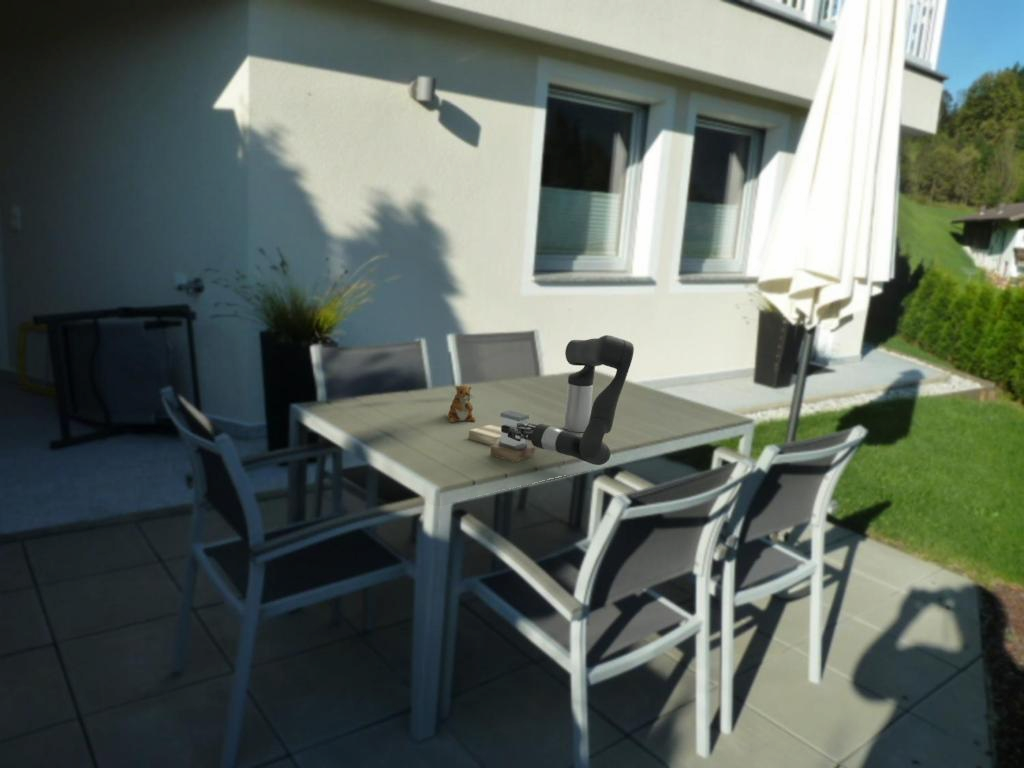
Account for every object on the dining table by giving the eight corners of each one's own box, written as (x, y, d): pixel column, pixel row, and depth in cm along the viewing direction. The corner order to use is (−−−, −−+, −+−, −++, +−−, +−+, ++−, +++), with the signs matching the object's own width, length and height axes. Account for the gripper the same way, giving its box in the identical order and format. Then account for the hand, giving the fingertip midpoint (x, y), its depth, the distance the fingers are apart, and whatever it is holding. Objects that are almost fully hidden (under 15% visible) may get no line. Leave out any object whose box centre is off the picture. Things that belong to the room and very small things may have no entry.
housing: (508, 442, 248) (510, 410, 246) (526, 447, 243) (529, 415, 241) (498, 445, 244) (500, 412, 242) (517, 450, 239) (519, 417, 237)
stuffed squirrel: (450, 423, 277) (451, 388, 275) (443, 413, 291) (444, 380, 288) (476, 423, 280) (478, 388, 277) (469, 413, 293) (470, 380, 290)
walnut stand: (510, 448, 251) (510, 440, 250) (533, 456, 245) (534, 447, 244) (490, 454, 243) (490, 445, 243) (514, 462, 237) (515, 453, 237)
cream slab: (491, 432, 269) (491, 424, 268) (517, 439, 262) (518, 431, 261) (468, 438, 260) (469, 430, 259) (495, 446, 253) (495, 437, 252)
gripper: (564, 422, 238) (521, 412, 249) (536, 430, 227) (493, 419, 238) (562, 445, 240) (520, 434, 250) (535, 454, 229) (492, 442, 239)
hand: (507, 426), depth 244 cm, fingers closed on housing, 5 cm apart
